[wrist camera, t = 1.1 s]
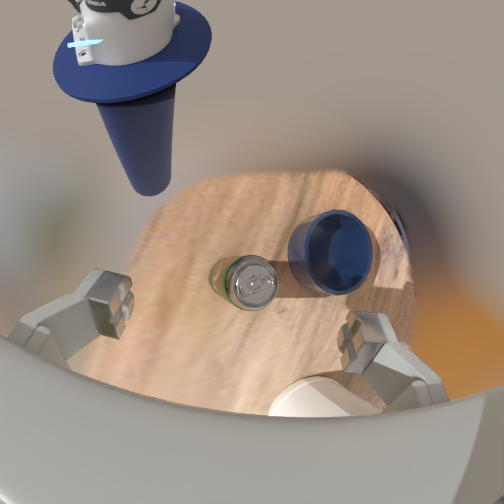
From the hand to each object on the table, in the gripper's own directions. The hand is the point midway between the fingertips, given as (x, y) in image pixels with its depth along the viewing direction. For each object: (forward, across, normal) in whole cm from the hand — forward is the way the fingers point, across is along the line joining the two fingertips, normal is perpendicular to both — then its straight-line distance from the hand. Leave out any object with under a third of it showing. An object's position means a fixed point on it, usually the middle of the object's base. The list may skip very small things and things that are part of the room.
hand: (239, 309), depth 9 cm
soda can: (+21, +1, +15) cm, 26 cm away
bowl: (+26, -12, +12) cm, 31 cm away
